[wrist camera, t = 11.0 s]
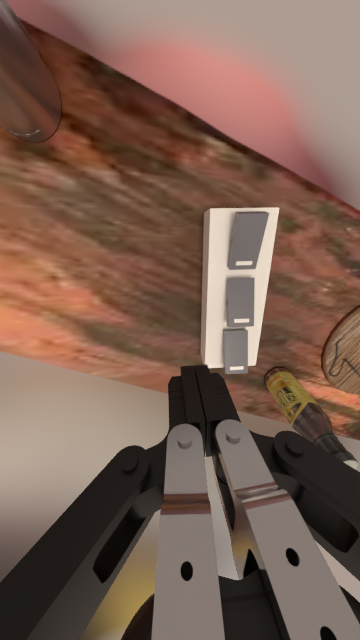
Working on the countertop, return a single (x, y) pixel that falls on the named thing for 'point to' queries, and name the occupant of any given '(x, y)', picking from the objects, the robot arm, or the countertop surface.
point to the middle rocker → (240, 302)
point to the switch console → (217, 272)
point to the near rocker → (247, 239)
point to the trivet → (344, 354)
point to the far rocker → (235, 351)
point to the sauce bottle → (305, 414)
